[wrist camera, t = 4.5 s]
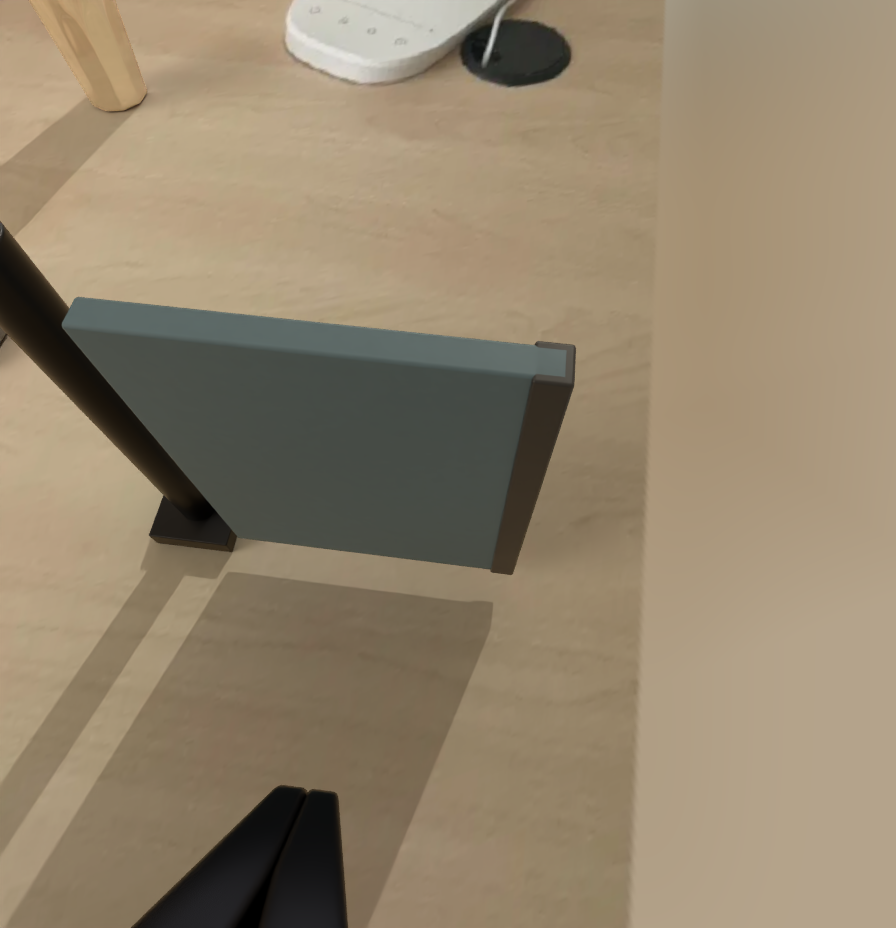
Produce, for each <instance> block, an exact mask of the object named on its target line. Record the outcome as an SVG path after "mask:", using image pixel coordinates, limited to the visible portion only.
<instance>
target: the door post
mask: <svg viewBox="0 0 896 928" xmlns="http://www.w3.org/2000/svg"><path fill="white" fill-rule="evenodd" d="M68 311H69V307H68V306H67V305H66V303H65V302H64V301H63V300H62V298H61V297H60V296H59V295H58V293H57V292H56V291H55V290H54V288H53V287H52V286H51V284H50V283H49V282H48V281H47V279H46V278H45V277H44V276H43V274H42V273H41V272H40V271H39V269H38V268H37V267H36V266H35V264H34V263H33V262H32V260H31V259H30V258H29V257H28V255H27V254H26V253H25V252H24V250H23V249H22V248H21V247H20V245H19V244H18V243H17V241H16V240H15V239H14V238H13V236H12V235H11V234H10V233H9V231H8V230H7V229H6V228H5V226H4V225H3V224H2V222H1V221H0V328H1V329H2V330H3V331H4V332H5V333H6V334H7V335H8V336H9V337H10V338H11V339H12V340H13V341H14V342H15V343H16V344H17V345H18V346H19V347H20V348H21V349H22V350H23V351H24V352H25V353H26V354H27V355H28V356H29V357H30V358H31V359H32V360H33V361H34V362H35V363H36V365H37V366H38V367H39V368H40V369H41V370H42V371H43V372H44V373H45V374H46V375H47V376H48V377H49V378H50V379H51V380H52V381H53V382H54V383H55V384H56V385H57V386H58V387H59V388H60V389H61V390H62V391H63V392H64V393H65V394H66V395H67V396H68V397H69V398H70V399H71V400H72V401H73V402H74V404H75V405H76V406H77V407H78V408H79V409H80V410H81V411H82V412H83V413H84V414H85V415H86V416H87V417H88V418H89V419H90V420H91V421H92V422H93V423H94V424H95V425H96V426H97V427H98V428H99V429H100V430H101V431H102V432H103V433H104V434H105V435H106V436H107V437H108V438H109V439H110V440H111V441H112V443H113V444H114V445H115V446H116V447H117V448H118V449H119V450H120V451H121V452H122V453H123V454H124V455H125V456H126V457H127V458H128V459H129V460H130V461H131V462H132V463H133V464H134V465H135V466H136V467H137V468H138V469H139V470H140V471H141V472H142V473H143V474H144V475H145V476H146V477H147V478H148V479H149V480H150V482H151V483H152V484H153V485H154V486H155V487H156V488H157V489H158V490H159V491H160V492H161V493H162V494H163V498H162V501H161V504H160V506H159V509H158V512H157V515H156V517H155V520H154V523H153V526H152V528H151V531H150V534H149V536H150V537H151V538H152V539H154V540H155V541H156V542H157V543H164V544H172V545H180V546H188V547H195V548H203V549H211V550H219V551H227V552H232V551H233V548H234V545H235V541H236V538H237V535H236V534H235V533H234V532H233V531H232V529H231V528H230V527H229V526H228V525H227V523H226V522H225V521H224V520H223V519H222V517H221V516H220V515H219V514H218V513H217V511H216V510H215V509H214V508H213V507H212V506H211V504H210V503H209V502H208V501H207V500H206V498H205V497H204V496H203V495H202V494H201V492H200V491H199V490H198V489H197V488H196V486H195V485H194V484H193V483H192V482H191V480H190V479H189V478H188V477H187V476H186V475H185V473H184V472H183V471H182V470H181V469H180V467H179V466H178V465H177V464H176V463H175V461H174V460H173V459H172V458H171V457H170V455H169V454H168V453H167V452H166V451H165V449H164V448H163V447H162V446H161V445H160V444H159V442H158V441H157V440H156V439H155V438H154V436H153V435H152V434H151V433H150V432H149V430H148V429H147V428H146V427H145V426H144V424H143V423H142V422H141V421H140V420H139V418H138V417H137V416H136V415H135V414H134V413H133V411H132V410H131V409H130V408H129V407H128V405H127V404H126V403H125V402H124V401H123V399H122V398H121V397H120V396H119V395H118V393H117V392H116V391H115V390H114V389H113V388H112V386H111V385H110V384H109V383H108V382H107V380H106V379H105V378H104V377H103V376H102V374H101V373H100V372H99V371H98V370H97V368H96V367H95V366H94V365H93V364H92V362H91V361H90V360H89V359H88V358H87V357H86V355H85V354H84V353H83V352H82V351H81V349H80V348H79V347H78V346H77V345H76V343H75V342H74V341H73V340H72V339H71V337H70V336H69V335H68V334H67V333H66V331H65V330H64V329H63V328H62V322H63V320H64V318H65V316H66V314H67V313H68Z"/></svg>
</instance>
